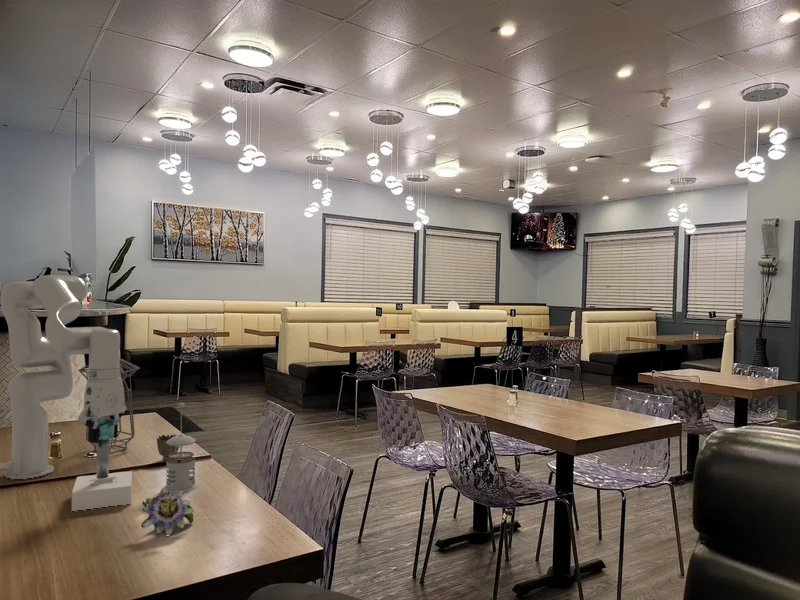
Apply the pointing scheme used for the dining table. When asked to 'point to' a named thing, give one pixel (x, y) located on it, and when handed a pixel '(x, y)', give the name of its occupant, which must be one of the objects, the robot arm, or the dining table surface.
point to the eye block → (102, 491)
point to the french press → (180, 472)
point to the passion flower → (167, 511)
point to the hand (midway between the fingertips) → (103, 439)
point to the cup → (165, 446)
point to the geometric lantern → (128, 402)
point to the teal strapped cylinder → (104, 446)
